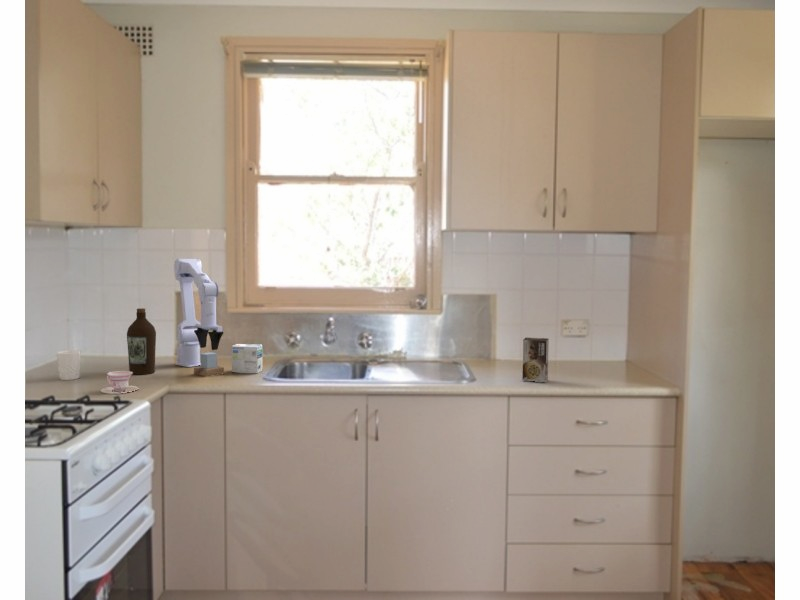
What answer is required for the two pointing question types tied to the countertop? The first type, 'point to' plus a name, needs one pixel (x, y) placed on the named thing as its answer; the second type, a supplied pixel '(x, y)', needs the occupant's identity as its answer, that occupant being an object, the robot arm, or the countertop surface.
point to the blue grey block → (208, 360)
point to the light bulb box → (247, 358)
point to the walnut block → (208, 371)
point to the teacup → (118, 381)
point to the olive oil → (141, 345)
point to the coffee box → (535, 359)
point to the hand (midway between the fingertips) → (208, 348)
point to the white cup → (69, 364)
